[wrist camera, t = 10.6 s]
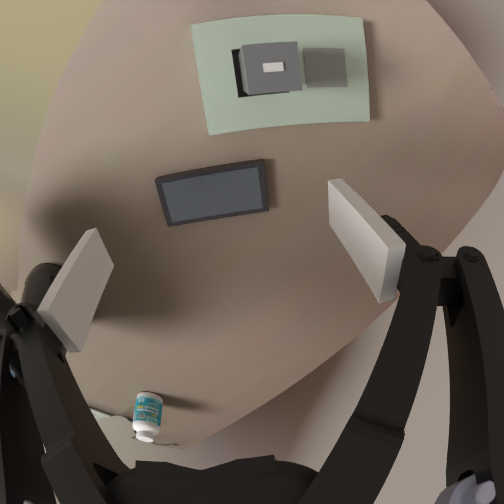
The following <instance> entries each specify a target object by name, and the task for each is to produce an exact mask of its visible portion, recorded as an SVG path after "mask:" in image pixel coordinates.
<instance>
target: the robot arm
mask: <svg viewBox="0 0 504 504" xmlns="http://www.w3.org/2000/svg"><path fill="white" fill-rule="evenodd" d="M328 196H329V225H330V226H331V228H332V229H333V231H334V232H335V234H336V235H337V237H338V238H339V240H340V241H341V243H342V244H343V246H344V247H345V249H346V251H347V252H348V254H349V255H350V257H351V258H352V260H353V262H354V263H355V265H356V266H357V268H358V270H359V271H360V273H361V274H362V276H363V278H364V279H365V281H366V283H367V284H368V286H369V288H370V289H371V291H372V293H373V294H374V296H375V298H376V300H377V301H378V303H379V304H380V303H384V302H387V301H391V300H394V299H395V296H396V292H397V289H398V290H399V292H400V296H399V300H398V303H397V306H396V309H395V312H394V315H393V318H392V322H391V325H390V327H389V330H388V333H387V335H386V338H385V341H384V344H383V346H382V349H381V351H380V354H379V357H378V359H377V362H376V364H375V366H374V369H373V371H372V374H371V376H370V378H369V380H368V383H367V385H366V387H365V390H364V392H363V394H362V396H361V398H360V400H359V402H358V405H357V407H356V408H355V411H354V413H353V414H352V416H351V417H350V419H349V421H348V422H347V424H346V426H345V428H344V430H343V432H342V433H341V435H340V437H339V439H338V441H337V443H336V444H335V446H334V448H333V450H332V451H331V453H330V455H329V456H328V458H327V460H326V462H325V463H324V465H323V466H322V468H321V469H320V471H319V473H318V472H317V471H315V470H313V469H311V468H309V467H306V466H303V465H300V464H296V463H293V462H287V461H277V460H276V459H275V456H274V455H269V456H261V457H255V458H246V459H237V460H234V461H231V462H228V463H224V464H221V465H218V466H215V467H211V468H208V469H204V470H196V469H192V468H187V467H183V466H179V465H175V464H171V463H168V462H152V461H137V460H136V466H135V468H133V469H129V468H128V467H127V466H126V465H125V464H124V463H123V462H122V461H121V460H120V458H119V457H118V456H117V454H116V452H115V451H114V449H113V448H112V446H111V445H110V443H109V441H108V440H107V438H106V437H105V435H104V433H103V432H102V430H101V428H100V427H99V425H98V423H97V421H96V420H95V418H94V416H93V414H92V412H91V410H90V409H89V407H88V405H87V403H86V401H85V399H84V397H83V395H82V393H81V391H80V389H79V387H78V385H77V383H76V380H75V378H74V376H73V374H72V372H71V369H70V367H69V365H68V362H67V360H66V358H65V355H66V352H67V350H68V351H69V352H81V351H82V348H83V345H84V342H85V339H86V336H87V333H88V330H89V327H90V325H91V322H92V319H93V316H94V314H95V311H96V309H97V306H98V303H99V301H100V298H101V296H102V293H103V291H104V288H105V286H106V284H107V281H108V279H109V277H110V274H111V272H112V270H113V267H114V264H113V262H112V260H111V258H110V256H109V254H108V252H107V250H106V248H105V246H104V243H103V241H102V239H101V237H100V235H99V232H98V230H97V228H94V229H90V230H86V232H85V233H84V234H83V236H82V237H81V239H80V240H79V242H78V243H77V245H76V246H75V248H74V249H73V251H72V252H71V254H70V255H69V257H68V258H67V260H66V261H65V263H64V265H63V266H62V268H61V267H59V266H56V265H53V264H40V265H37V266H36V267H34V268H33V269H32V271H31V272H30V274H29V275H28V277H27V279H26V281H25V287H24V290H23V294H22V299H21V303H18V304H17V303H16V302H15V301H14V300H13V299H12V297H11V296H10V295H9V294H8V293H7V291H6V290H5V289H4V288H3V286H2V285H1V284H0V504H56V499H55V495H56V497H57V499H58V500H59V502H60V504H373V503H374V501H375V499H376V498H377V496H378V494H379V492H380V490H381V488H382V486H383V485H384V483H385V481H386V478H387V477H388V475H389V472H390V470H391V468H392V466H393V464H394V462H395V459H396V457H397V455H398V453H399V450H400V448H401V445H402V443H403V440H404V435H405V433H404V428H405V425H406V422H407V419H408V417H409V414H410V411H411V408H412V405H413V402H414V399H415V396H416V393H417V390H418V386H419V383H420V380H421V376H422V373H423V369H424V365H425V361H426V357H427V353H428V349H429V344H430V340H431V335H432V330H433V325H434V320H435V314H436V308H437V306H443V312H444V319H445V327H446V335H447V345H448V358H449V375H450V424H449V425H450V426H449V441H448V452H447V465H446V466H447V467H446V487H447V488H446V489H444V490H443V491H442V492H441V493H440V495H439V496H438V498H437V500H436V502H435V504H504V309H503V306H502V303H501V299H500V297H499V293H498V291H497V288H496V285H495V282H494V280H493V277H492V274H491V272H490V269H489V267H488V264H487V262H486V259H485V257H484V255H483V254H482V253H481V252H480V251H479V250H477V249H476V248H474V247H469V246H463V247H461V248H459V250H458V252H457V255H456V257H442V255H441V254H440V252H439V251H438V250H436V249H435V248H432V247H430V246H424V245H422V246H421V245H420V244H419V243H418V242H417V241H416V240H415V239H414V238H413V237H412V236H411V235H410V233H409V232H408V231H406V229H405V228H404V227H403V226H401V224H400V223H399V222H398V221H397V220H396V219H394V218H392V217H390V216H388V215H382V216H379V215H378V214H377V213H376V212H375V211H374V210H373V209H372V208H371V207H370V206H369V205H368V204H367V203H366V202H365V201H364V200H363V199H362V198H361V197H360V196H359V195H358V194H357V193H356V192H355V191H354V190H353V189H352V188H351V187H350V186H349V185H348V184H347V183H346V182H345V181H343V180H342V179H341V178H338V179H331V180H328ZM43 444H44V446H45V449H46V452H47V453H45V452H44V446H43ZM53 490H54V491H53ZM54 492H55V495H54Z"/></svg>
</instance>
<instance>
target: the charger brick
mask: <svg viewBox="0 0 504 504" xmlns="http://www.w3.org/2000/svg"><path fill="white" fill-rule="evenodd" d="M238 58H239V65H240V72H241V79H242V86H243V91H245V92H246V93H247V94H248V95H254V94H263V93H273V92H286V91H302V90H303V89H302V79H301V70H300V61H299V53H298V45H297V41H294V42H272V43H259V44H249V45H242V47H241V49H240V52H239V55H238Z"/></svg>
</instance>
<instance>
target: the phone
mask: <svg viewBox="0 0 504 504" xmlns="http://www.w3.org/2000/svg"><path fill="white" fill-rule="evenodd" d="M155 183H156V186H157V190H158V193H159V197H160V201H161V204H162V208H163V211H164V214H165V218H166V221H167V224H168V227H169V226H175V225H181V224H187V223H193V222H199V221H205V220H211V219H218V218H224V217H231V216H238V215H244V214H251V213H258V212H265V211H269V206H268V197H267V188H266V179H265V170H264V162H263V159H259V160H251V161H244V162H237V163H231V164H224V165H218V166H212V167H206V168H201V169H195V170H190V171H184V172H179V173H174V174H169V175H165V176H160V177H157V178H156V179H155Z"/></svg>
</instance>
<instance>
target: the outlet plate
mask: <svg viewBox="0 0 504 504" xmlns="http://www.w3.org/2000/svg"><path fill="white" fill-rule="evenodd" d="M191 30H192V37H193V43H194V50H195V56H196V62H197V68H198V75H199V81H200V87H201V93H202V99H203V104H204V110H205V116H206V122H207V128H208V133H209V136H210V135H216V134H222V133H228V132H235V131H242V130H249V129H257V128H266V127H275V126H285V125H296V124H310V123H327V122H365V121H370V106H369V83H368V68H367V56H366V46H365V36H364V28H363V21H362V18H356V17H347V16H335V15H315V14H281V15H261V16H249V17H239V18H231V19H223V20H217V21H210V22H204V23H199V24H194V25H191ZM294 41H297V45H298V53H299V61H300V70H301V79H302V89H303V90H302V91H286V92H273V93H263V94H254V95H248V94H247V93H246V92H245V91H243V86H242V79H241V72H240V65H239V58H238V55H239V52H240V49H241V47H242V45H249V44H259V43H272V42H294Z"/></svg>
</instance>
